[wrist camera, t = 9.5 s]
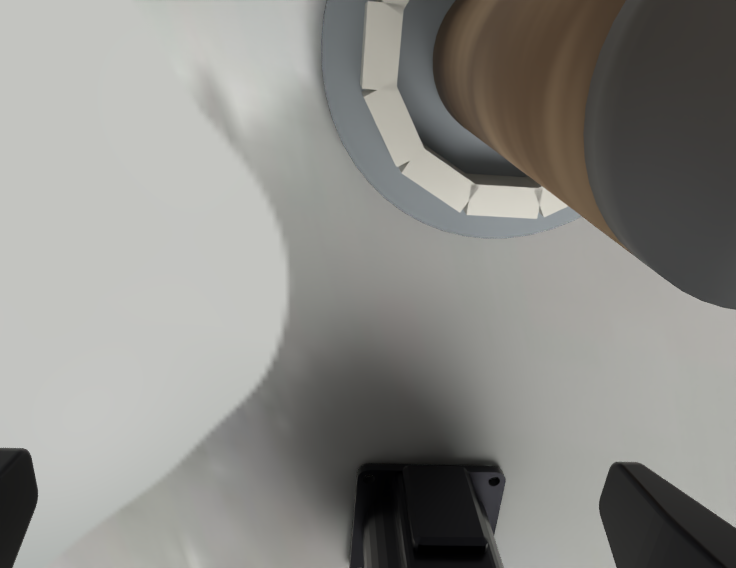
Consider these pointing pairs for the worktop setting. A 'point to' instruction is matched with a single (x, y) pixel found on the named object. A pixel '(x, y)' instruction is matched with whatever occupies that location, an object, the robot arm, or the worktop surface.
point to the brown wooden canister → (611, 118)
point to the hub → (420, 126)
